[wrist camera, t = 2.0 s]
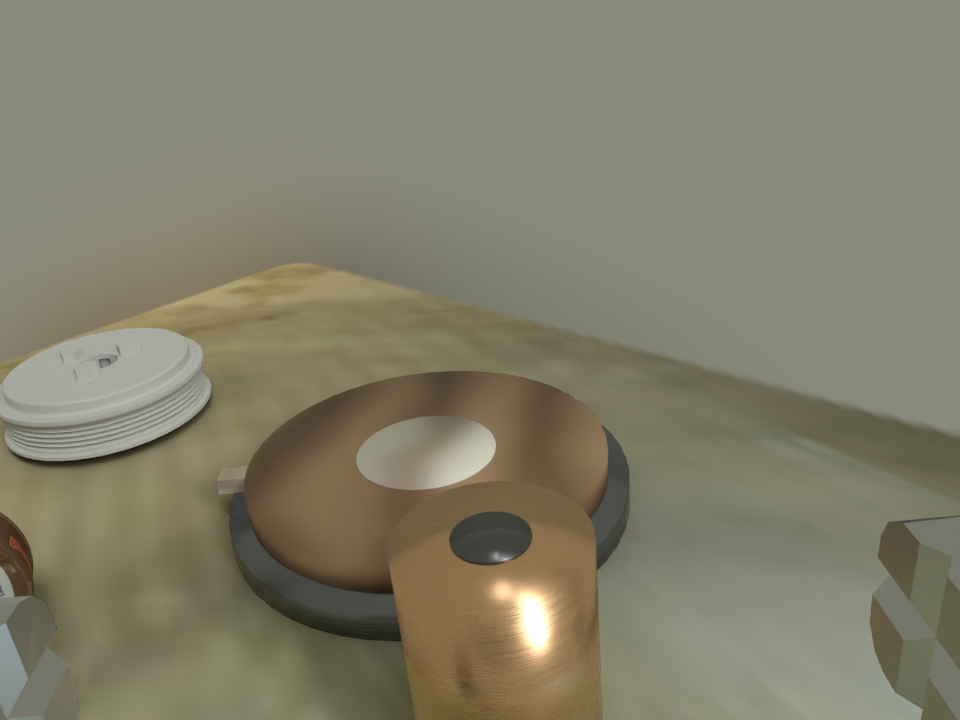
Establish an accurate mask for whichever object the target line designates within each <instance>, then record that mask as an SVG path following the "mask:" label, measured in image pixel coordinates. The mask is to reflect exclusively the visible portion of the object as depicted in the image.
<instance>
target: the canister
mask: <svg viewBox="0 0 960 720" xmlns="http://www.w3.org/2000/svg"><path fill="white" fill-rule="evenodd" d="M388 562H389V568H390V574H391V580H392V586H393V592H394V598H395V604H396V610H397V616H398V622H399V628H400V634H401V640H402V646H403V652H404V658H405V664H406V670H407V676H408V682H409V688H410V694H411V700H412V706H413V712H414V718H415V720H603V714H602V689H601V664H600V639H599V614H598V589H597V564H596V539H595V531H594V527H593V524H592V522H591V520H590V518H589V516H588V515H587V513H586V512H585V511H584V510H583V509H582V508H581V506H579V505H578V504H577V503H576V502H575V501H573V500H572V499H570V498H569V497H567V496H565V495H563V494H561V493H559V492H557V491H555V490H552V489H549V488H547V487H543V486H540V485H536V484H531V483H525V482H515V481H489V482H480V483H473V484H468V485H463V486H460V487H456V488H453V489H449V490H447V491H444V492H441V493H439V494H437V495H435V496H433V497H430V498H429V499H427V500H425V501H423V502H422V503H420V504H419V505H417V506H416V507H414V508H413V509H412V510H411V511H409V512H408V513H407V514H406V515H405V516H404V517H403V518H402V519H401V521H400V522H399V523H398V524H397V526H396V527H395V529H394V531H393V532H392V535H391V537H390V540H389V544H388Z"/></svg>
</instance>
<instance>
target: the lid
mask: <svg viewBox="0 0 960 720" xmlns="http://www.w3.org/2000/svg"><path fill="white" fill-rule="evenodd" d="M203 359H204V356H203V351H202V349H201V347H200V346H199V344H198V343H196V342H195V341H193V340H192V339H189V338H186V337H183V336H181V335H179V334H178V333H175V332H173V331H169V330H165V329H157V328H130V329H120V330H113V331H107V332H102V333H97V334H92V335H88V336H84V337H80V338H77V339H74V340H70V341H67V342H64V343H62V344H59V345H56V346H54V347H51V348H49V349H46V350H44V351H42V352H40V353H38V354H36V355H34V356H32V357H30V358H28V359H27V360H25V361H24V362H22V363H21V364H19V365H18V366H17V367H15V368H14V369H13V370H12V371H11V372H10V373H9V374H8V375H7V376H6V378H5V380H4V381H3V383H2V384H1V385H0V418H1V419H3V421H4V424H5V427H6V428H5V430H4V438H5V442H6V445H7V446H8V447H9V449H10V450H12V451H13V452H14V453H16V454H18V455H20V456H23V457H26V458H30V459H34V460H43V461H69V460H79V459H87V458H93V457H98V456H103V455H108V454H112V453H116V452H119V451H123V450H126V449H129V448H132V447H136V446H139V445H141V444H144V443H146V442H149V441H151V440H154V439H156V438H158V437H160V436H163V435H165V434H167V433H168V432H170V431H172V430H174V429H176V428H178V427H179V426H181V425H182V424H184V423H185V422H187V421H188V420H190V419H191V418H192V417H193V416H195V415H196V414H197V413H198V412H199V411H200V410H201V409H202V408H203V407H204V406H205V404H206V403H207V401H208V400H209V397H210V395H211V384H210V380H209V379H208V377H207V376H206V375H205V374H204V373H203V370H202V364H203Z"/></svg>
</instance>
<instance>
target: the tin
mask: <svg viewBox="0 0 960 720" xmlns="http://www.w3.org/2000/svg"><path fill="white" fill-rule="evenodd" d="M32 576H33V559H32V554H31V550H30V547H29V544H28V542H27V540H26V538H25V536H24V535H23V533H22V532H21V531H20V529H19V528H18V527H17V526H16V525H15V524H14V523H13V522H12V521H11V520H10V519H9V518H8V517H6V516H5V515H3V514H2V513H0V598H5V597H21V596H34V582H33V577H32Z"/></svg>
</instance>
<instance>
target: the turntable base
mask: <svg viewBox="0 0 960 720" xmlns="http://www.w3.org/2000/svg"><path fill="white" fill-rule="evenodd" d="M601 426H602V425H601ZM602 428H603V430H604V432H605V435H606V440H607V444H608V469H609V471H608V485H607V488H606V492H605V495H604V498H603V500H602V502H601V504H600V506H599V508H598V510H597V511H596V513H595V514H594V515H593V517H592V518H591V519H590V520H591V522H592V524H593V527H594V531H595V539H596V564H597V570H598V569H599V568H600V567H601V566H602V565H603V564H604V563H605V562H606V561H607V559H608V558H609V556H610V555H611V554H612V552H613V551H614V549H615V548H616V547H617V545H618V543H619V541H620V539H621V537H622V535H623V533H624V531H625V528H626V524H627V520H628V516H629V498H630V496H629V469H628V465H627V461H626V457H625V455H624V453H623V451H622V449H621V447H620V445H619V443H618V442H617V441H616V440H615V438H614V437H613V436H612V434H611V433H610V432H609V431H608V430H607V429H606V428H604V427H603V426H602ZM229 527H230V532H231V536H232V541H233V545H234V549H235V553H236V557H237V560H238V564H239V567H240V569H241V571H242V573H243V575H244V578H245V580H246V581H247V582H248V584H249V585H250V586H251V588H252V589H253V590H254V591H255V593H256V594H257V595H258V596H259V597H260V598H262V599H263V600H264V601H265V602H266V603H267V604H269V605H270V606H271V607H272V608H274V609H276V610H277V611H279V612H281V613H282V614H284V615H286V616H287V617H289V618H291V619H293V620H295V621H298V622H300V623H303V624H305V625H307V626H310V627H312V628H315V629H319V630H323V631H326V632H330V633H334V634H337V635H342V636H349V637H355V638H362V639H370V640H390V641H402V640H401V634H400V628H399V622H398V616H397V610H396V604H395V598H394V594H385V593H367V592H360V591H353V590H345V589H341V588H337V587H333V586H329V585H325V584H321V583H318V582H316V581H313V580H310V579H308V578H305V577H302V576H300V575H298V574H296V573H295V572H293V571H291V570H289V569H287V568H285V567H284V566H282V565H281V564H280V563H279V562H277V561H276V560H275V559H273V558H272V557H271V556H270V555H269V554H268V553H267V552H266V551H265V549H264V548H263V547H262V546H261V545H260V543H259V542H258V540H257V538H256V536H255V534H254V532H253V529H252V525H251V521H250V517H249V513H248V509H247V505H246V500H245V496H244V492H240V493H235V494H234V496H233V500H232V504H231V507H230V516H229Z"/></svg>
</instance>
